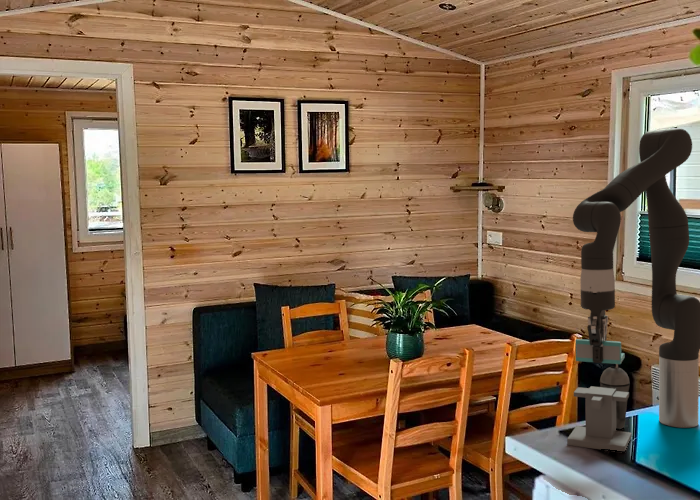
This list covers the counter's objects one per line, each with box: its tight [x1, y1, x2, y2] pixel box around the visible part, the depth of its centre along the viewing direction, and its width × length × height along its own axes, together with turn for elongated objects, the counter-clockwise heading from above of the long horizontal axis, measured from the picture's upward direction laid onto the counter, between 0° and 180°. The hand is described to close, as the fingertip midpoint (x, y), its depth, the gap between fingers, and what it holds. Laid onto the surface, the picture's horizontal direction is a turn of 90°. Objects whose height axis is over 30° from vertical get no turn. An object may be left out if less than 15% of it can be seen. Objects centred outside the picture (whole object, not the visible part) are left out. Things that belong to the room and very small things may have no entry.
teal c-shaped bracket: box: [575, 338, 626, 365], centre depth 169 cm, size 7×10×5 cm
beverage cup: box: [599, 364, 631, 428], centre depth 181 cm, size 7×7×20 cm
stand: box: [566, 385, 633, 451], centre depth 171 cm, size 10×13×12 cm
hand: (598, 361), depth 166 cm, fingers closed on teal c-shaped bracket, 1 cm apart
